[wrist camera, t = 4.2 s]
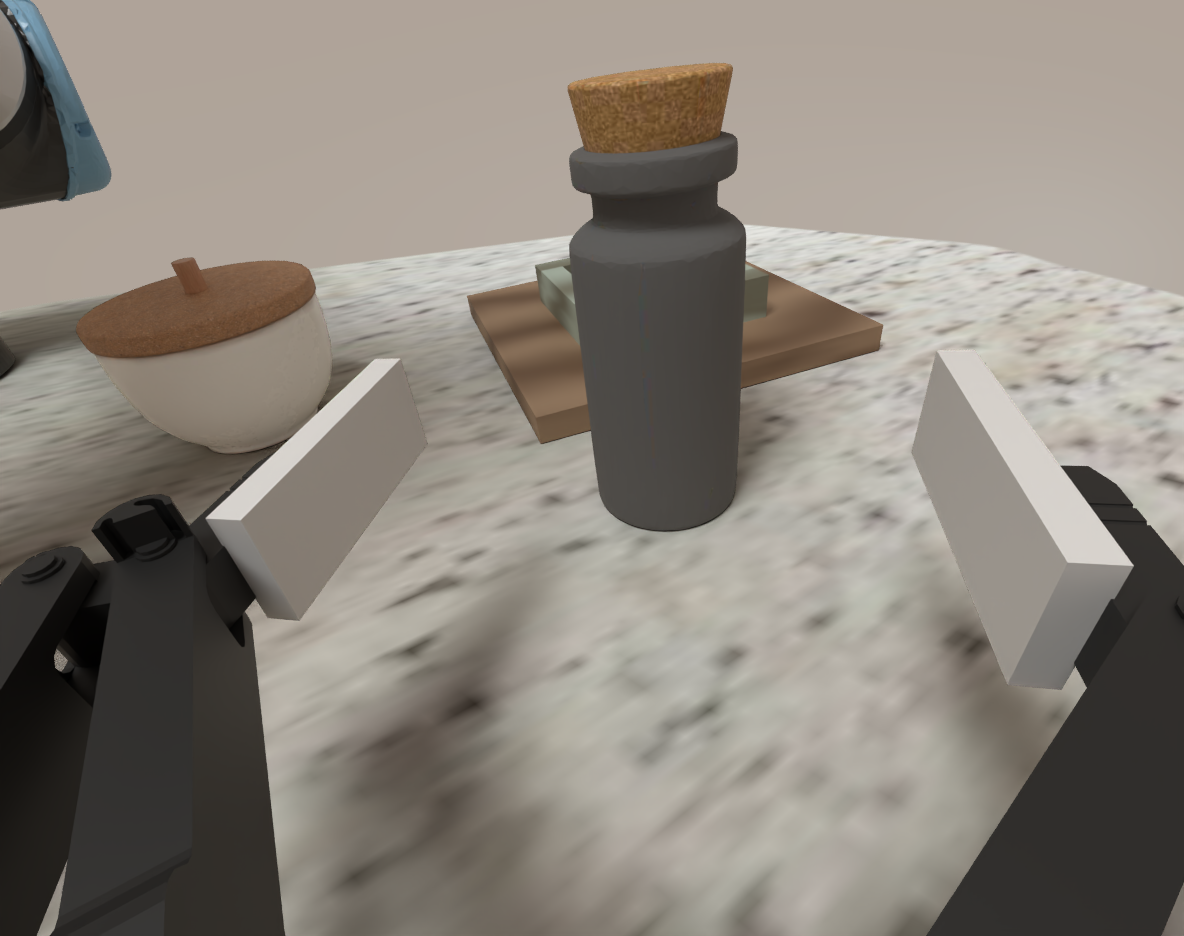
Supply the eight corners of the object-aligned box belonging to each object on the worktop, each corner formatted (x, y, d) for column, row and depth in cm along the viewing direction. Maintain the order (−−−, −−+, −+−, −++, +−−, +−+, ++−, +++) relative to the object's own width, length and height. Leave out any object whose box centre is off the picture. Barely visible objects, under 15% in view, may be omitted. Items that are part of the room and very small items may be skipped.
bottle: (696, 551, 22) (694, 76, 14) (572, 505, 25) (505, 92, 17) (758, 469, 26) (786, 53, 17) (642, 437, 29) (618, 70, 20)
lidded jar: (390, 381, 38) (338, 224, 32) (286, 485, 29) (191, 297, 24) (247, 380, 40) (175, 235, 35) (113, 475, 32) (-9, 304, 26)
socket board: (471, 315, 45) (459, 261, 43) (707, 262, 50) (708, 211, 47) (540, 443, 30) (527, 370, 27) (878, 349, 34) (891, 280, 32)
